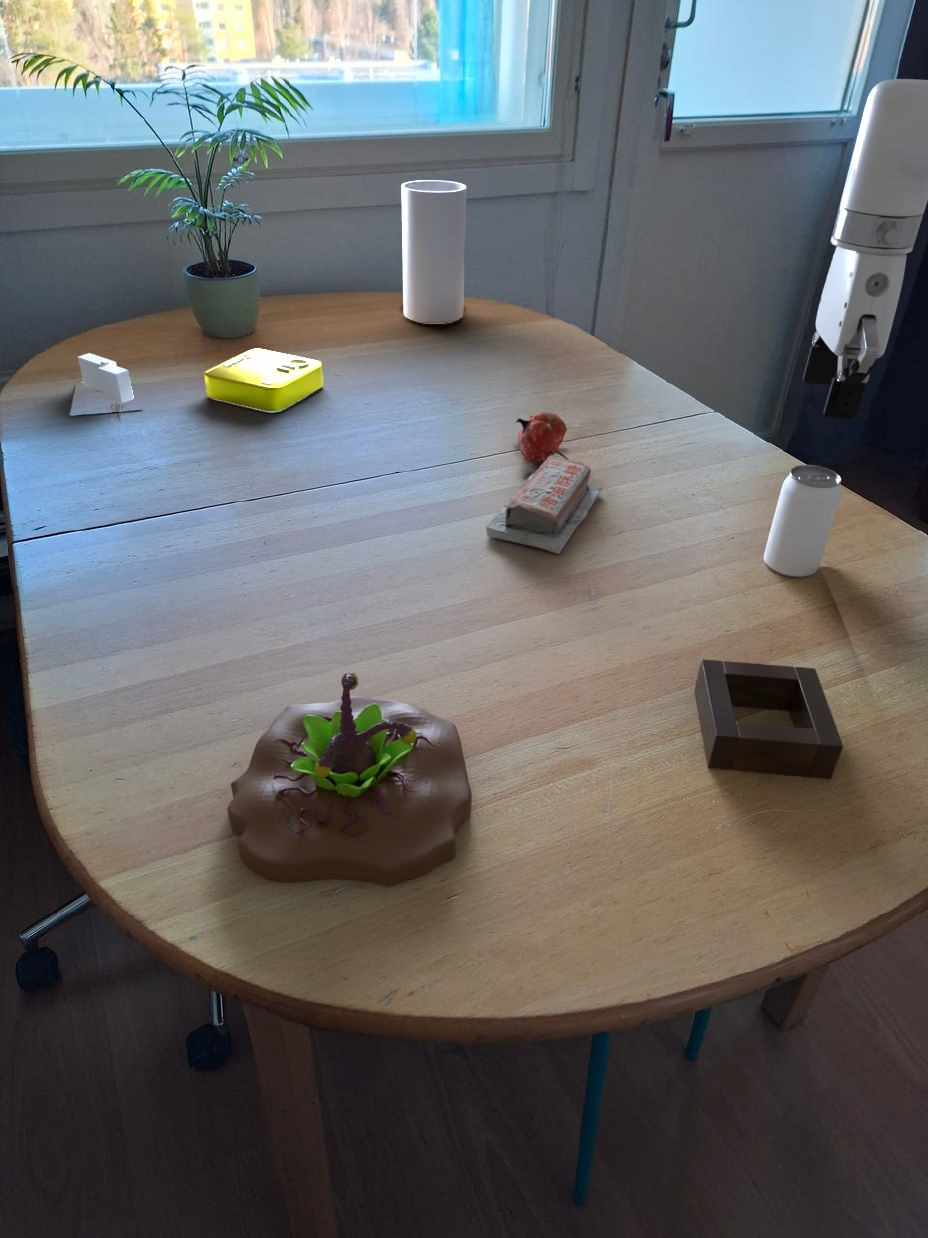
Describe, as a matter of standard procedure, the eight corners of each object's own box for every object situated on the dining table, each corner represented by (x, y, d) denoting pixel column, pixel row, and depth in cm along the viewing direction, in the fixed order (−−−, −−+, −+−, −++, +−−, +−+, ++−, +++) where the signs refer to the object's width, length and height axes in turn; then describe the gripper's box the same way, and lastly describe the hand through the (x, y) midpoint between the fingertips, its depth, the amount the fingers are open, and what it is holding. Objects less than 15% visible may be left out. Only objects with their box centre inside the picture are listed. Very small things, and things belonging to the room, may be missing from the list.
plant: (474, 719, 82) (479, 623, 76) (467, 892, 67) (472, 789, 60) (264, 709, 83) (250, 613, 76) (207, 880, 67) (183, 776, 60)
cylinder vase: (433, 330, 176) (434, 194, 162) (391, 316, 183) (388, 184, 169) (475, 317, 184) (479, 186, 169) (433, 304, 191) (433, 177, 176)
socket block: (805, 699, 86) (815, 668, 84) (831, 779, 77) (843, 746, 75) (693, 690, 87) (701, 658, 84) (707, 768, 78) (716, 735, 76)
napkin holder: (73, 383, 148) (65, 349, 145) (143, 377, 151) (137, 344, 148) (68, 417, 137) (59, 381, 134) (144, 410, 140) (137, 375, 136)
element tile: (257, 370, 155) (254, 343, 153) (328, 386, 150) (326, 358, 147) (201, 398, 144) (197, 370, 142) (276, 416, 139) (273, 387, 136)
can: (753, 552, 108) (776, 464, 101) (801, 549, 110) (827, 461, 102) (777, 581, 103) (803, 490, 96) (827, 577, 104) (856, 486, 97)
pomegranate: (555, 461, 133) (505, 420, 130) (588, 431, 129) (537, 388, 126) (549, 488, 128) (497, 446, 125) (583, 457, 123) (530, 412, 120)
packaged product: (536, 448, 120) (605, 462, 117) (533, 480, 123) (601, 494, 120) (486, 504, 107) (563, 522, 104) (484, 538, 110) (559, 556, 107)
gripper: (946, 253, 77) (886, 434, 87) (888, 213, 91) (842, 373, 101) (859, 249, 78) (809, 429, 88) (815, 209, 92) (776, 369, 102)
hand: (827, 399), depth 94 cm, fingers open, 9 cm apart
